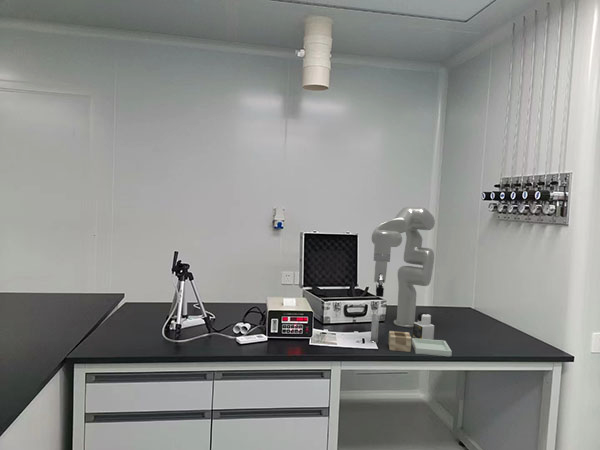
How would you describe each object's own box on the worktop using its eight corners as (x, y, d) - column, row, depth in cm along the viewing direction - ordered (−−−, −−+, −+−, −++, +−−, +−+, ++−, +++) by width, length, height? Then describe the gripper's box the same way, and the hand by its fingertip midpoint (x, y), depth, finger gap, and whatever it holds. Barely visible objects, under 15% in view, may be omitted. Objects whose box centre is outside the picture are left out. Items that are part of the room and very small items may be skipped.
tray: (411, 343, 212) (412, 338, 212) (444, 345, 210) (445, 340, 210) (415, 353, 197) (416, 348, 197) (451, 356, 195) (451, 351, 195)
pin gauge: (370, 340, 213) (371, 315, 212) (377, 340, 213) (378, 315, 212) (370, 342, 210) (372, 316, 209) (377, 342, 210) (379, 317, 209)
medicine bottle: (412, 336, 222) (414, 312, 222) (424, 335, 225) (426, 311, 224) (421, 340, 216) (422, 316, 215) (433, 339, 218) (435, 315, 218)
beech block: (388, 343, 209) (389, 330, 209) (408, 345, 208) (409, 332, 208) (389, 350, 200) (390, 336, 200) (410, 351, 199) (411, 338, 199)
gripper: (373, 255, 219) (371, 290, 219) (373, 259, 202) (371, 297, 202) (389, 256, 218) (387, 292, 218) (390, 260, 201) (388, 298, 201)
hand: (379, 294), depth 210 cm, fingers open, 9 cm apart
